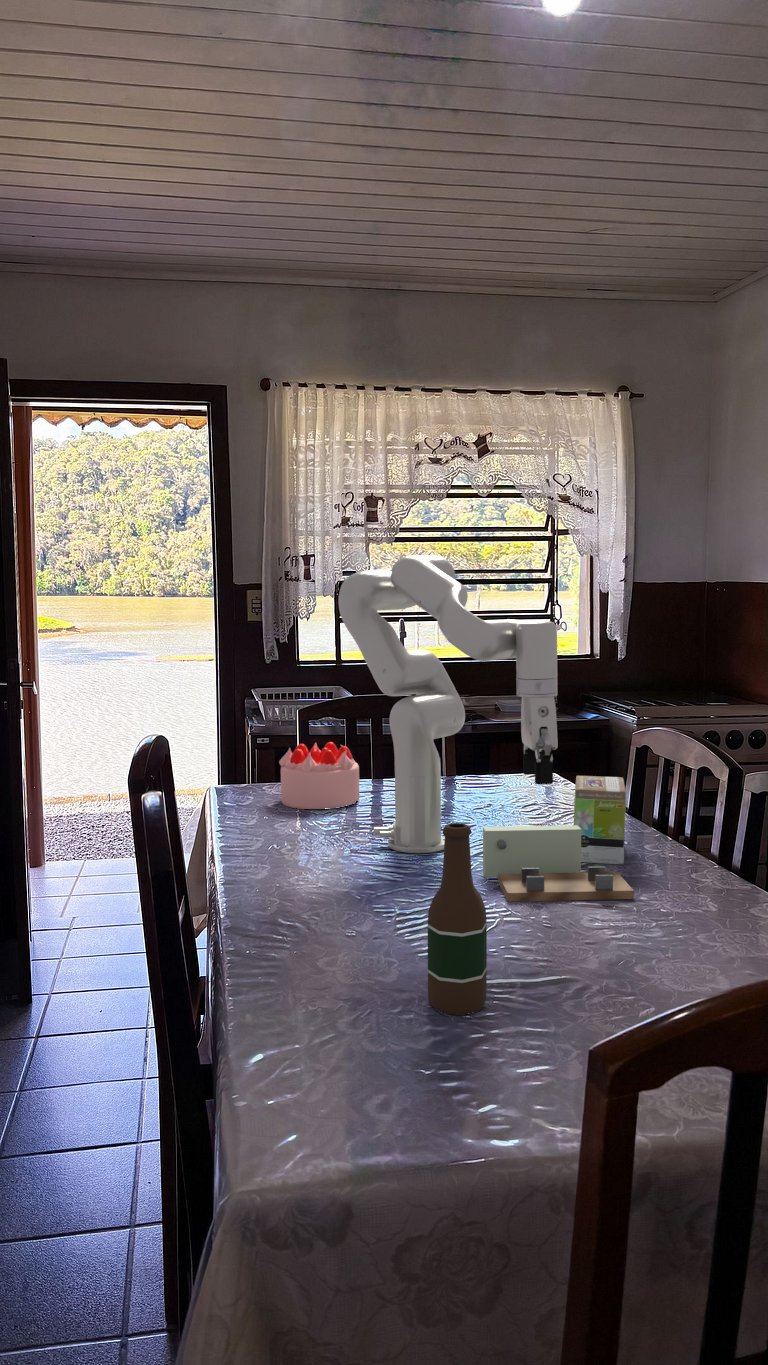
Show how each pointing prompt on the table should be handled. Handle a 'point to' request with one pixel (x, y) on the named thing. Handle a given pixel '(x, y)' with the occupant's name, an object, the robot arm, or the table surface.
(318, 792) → the cake
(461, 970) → the beer bottle
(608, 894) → the cabinet side
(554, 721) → the robot arm
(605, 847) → the tea box
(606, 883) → the hinge clips
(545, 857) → the door
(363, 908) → the table surface
